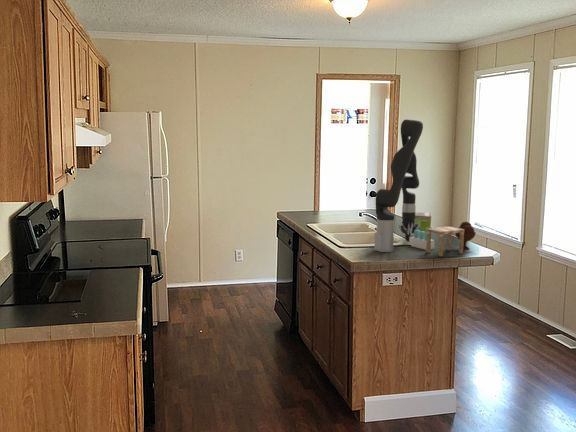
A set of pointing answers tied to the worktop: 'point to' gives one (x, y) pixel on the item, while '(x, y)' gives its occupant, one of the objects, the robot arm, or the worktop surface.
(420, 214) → the tea box
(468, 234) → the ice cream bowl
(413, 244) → the white and teal block
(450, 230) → the beige wooden stool
